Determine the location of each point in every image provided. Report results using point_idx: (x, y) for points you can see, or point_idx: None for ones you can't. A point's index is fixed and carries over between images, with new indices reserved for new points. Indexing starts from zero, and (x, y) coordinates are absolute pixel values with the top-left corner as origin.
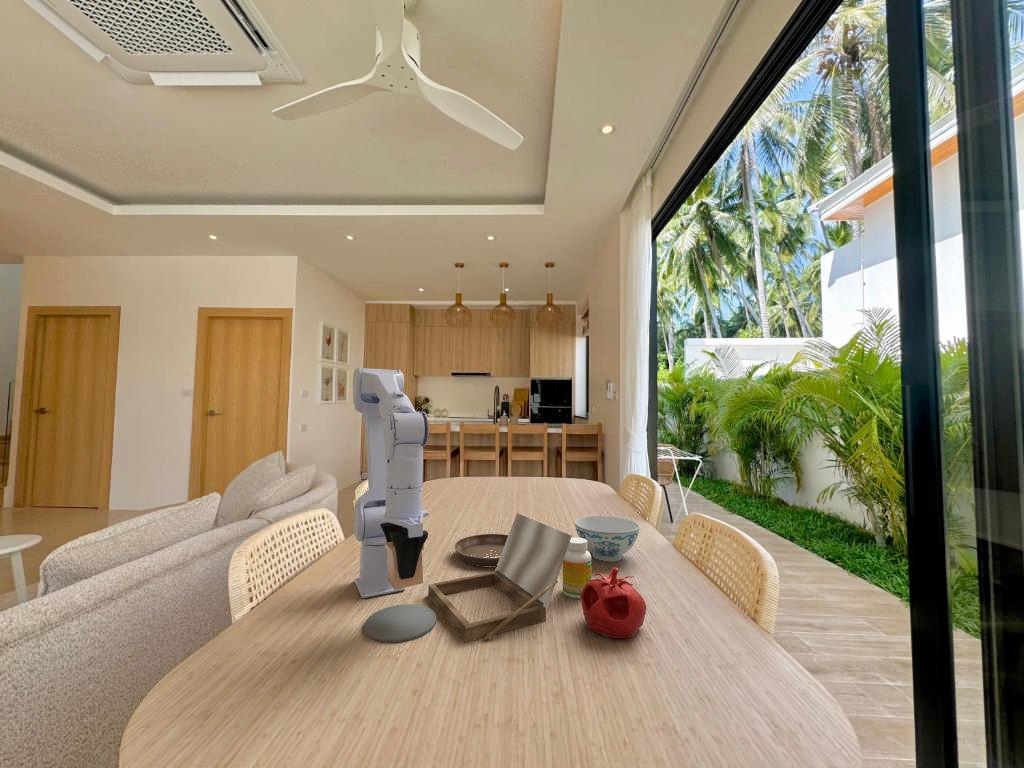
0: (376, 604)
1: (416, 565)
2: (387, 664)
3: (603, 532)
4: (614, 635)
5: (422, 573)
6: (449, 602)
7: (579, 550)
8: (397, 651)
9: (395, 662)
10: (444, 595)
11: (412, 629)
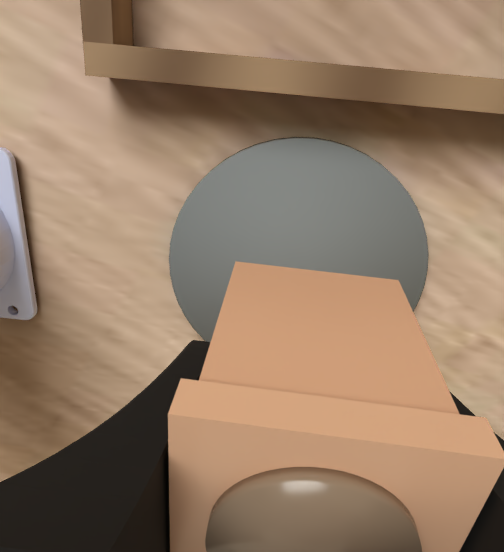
0: (100, 286)
1: (461, 404)
2: (491, 371)
3: None
4: None
5: (410, 309)
6: (353, 73)
7: None
8: (451, 331)
9: (500, 353)
10: (262, 58)
11: (388, 265)
